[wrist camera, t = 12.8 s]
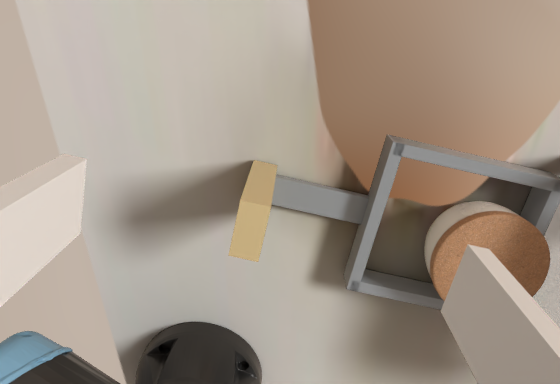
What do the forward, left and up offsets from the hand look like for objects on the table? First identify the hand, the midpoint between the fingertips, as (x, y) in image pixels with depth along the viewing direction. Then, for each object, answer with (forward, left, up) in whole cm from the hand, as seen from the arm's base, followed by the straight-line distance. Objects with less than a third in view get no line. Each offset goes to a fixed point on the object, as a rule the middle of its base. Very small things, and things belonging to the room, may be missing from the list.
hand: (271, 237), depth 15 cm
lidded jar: (-10, -22, -32) cm, 40 cm away
